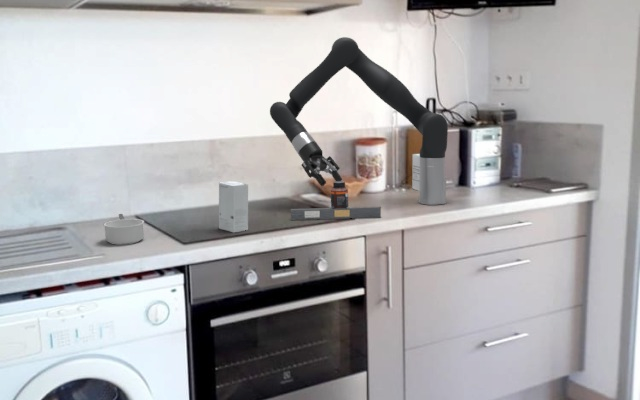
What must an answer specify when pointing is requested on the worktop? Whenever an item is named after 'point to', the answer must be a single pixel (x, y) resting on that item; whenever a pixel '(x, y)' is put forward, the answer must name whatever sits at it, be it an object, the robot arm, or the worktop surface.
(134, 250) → the worktop surface
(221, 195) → the skincare box
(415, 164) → the supplement box
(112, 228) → the saucepan
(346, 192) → the supplement bottle
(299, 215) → the price rail
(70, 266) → the worktop surface
